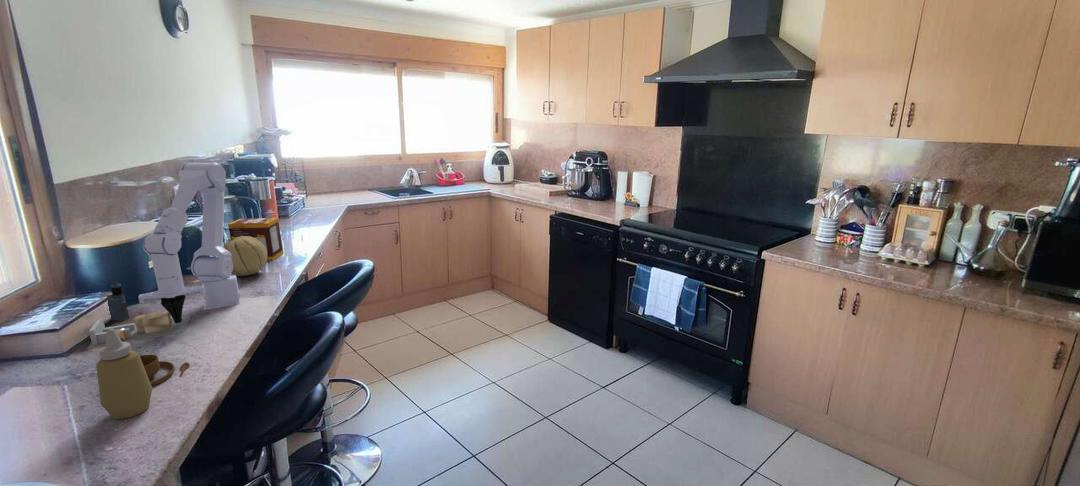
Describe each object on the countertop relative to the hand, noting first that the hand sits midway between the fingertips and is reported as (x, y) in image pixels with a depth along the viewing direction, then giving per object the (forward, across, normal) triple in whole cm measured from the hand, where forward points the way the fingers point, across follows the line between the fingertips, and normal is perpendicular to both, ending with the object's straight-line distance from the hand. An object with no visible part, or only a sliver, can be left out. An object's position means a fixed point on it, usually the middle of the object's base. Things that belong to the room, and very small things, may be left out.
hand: (178, 321), depth 137 cm
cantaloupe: (+2, +16, +42) cm, 45 cm away
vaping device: (+2, -16, +14) cm, 21 cm away
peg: (+1, -4, 0) cm, 5 cm away
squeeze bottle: (+2, -3, -44) cm, 44 cm away
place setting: (+2, -4, -25) cm, 25 cm away
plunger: (+1, -12, -3) cm, 13 cm away
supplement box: (+2, +20, +66) cm, 69 cm away
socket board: (+2, -8, 0) cm, 8 cm away
